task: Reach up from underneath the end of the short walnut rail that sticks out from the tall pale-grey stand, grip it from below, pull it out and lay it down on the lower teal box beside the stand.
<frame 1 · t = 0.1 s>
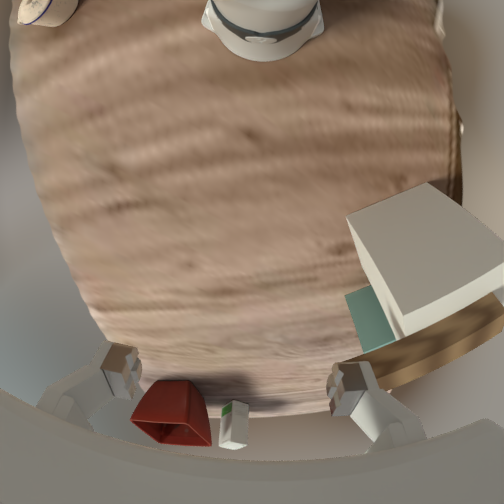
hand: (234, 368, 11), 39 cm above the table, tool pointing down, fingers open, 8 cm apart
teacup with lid: (57, 11, 27), on the table
rail: (423, 337, 29), point 26 cm above the table, touching stand
skincare box: (235, 405, 85), on the table
stand: (394, 225, 49), on the table
teal box: (381, 294, 58), on the table
plant pot: (180, 390, 81), on the table
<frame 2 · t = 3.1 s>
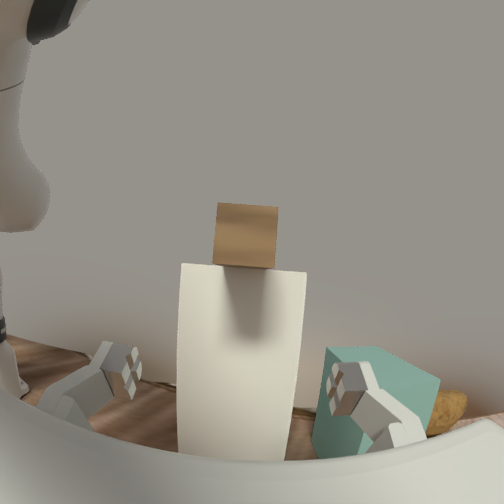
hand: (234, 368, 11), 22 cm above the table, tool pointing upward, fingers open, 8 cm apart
potato: (427, 432, 33), on the table
rail: (244, 268, 29), point 26 cm above the table, touching stand
stand: (232, 445, 34), on the table
teal box: (350, 466, 27), on the table
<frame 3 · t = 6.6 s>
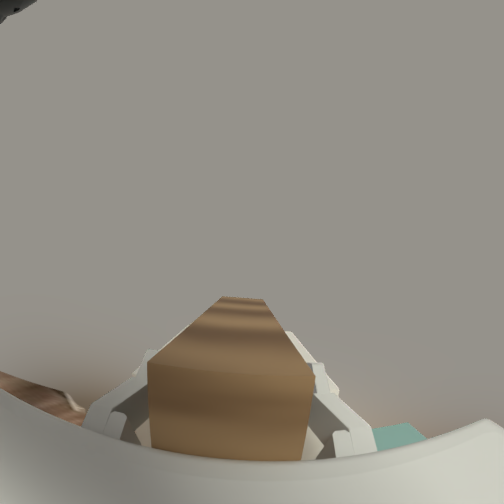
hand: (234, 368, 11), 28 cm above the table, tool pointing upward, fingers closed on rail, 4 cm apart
rail: (235, 373, 17), point 26 cm above the table, touching gripper, stand
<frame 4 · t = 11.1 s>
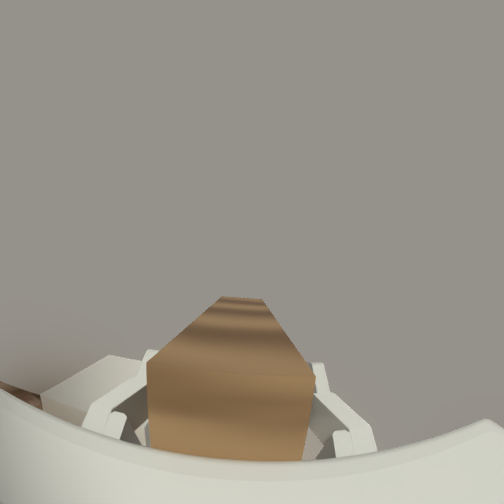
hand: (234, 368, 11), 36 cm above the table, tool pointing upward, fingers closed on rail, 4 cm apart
rail: (235, 373, 17), point 34 cm above the table, touching gripper
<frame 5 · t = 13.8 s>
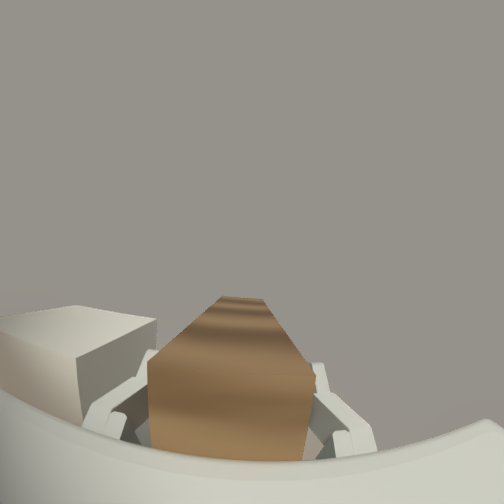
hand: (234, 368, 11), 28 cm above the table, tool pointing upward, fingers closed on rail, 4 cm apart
rail: (235, 372, 17), point 26 cm above the table, touching gripper
stand: (105, 501, 21), on the table
when the fingers open (20 cm above the table, at t = 16.0 s): rail drops 2 cm, resting on teal box.
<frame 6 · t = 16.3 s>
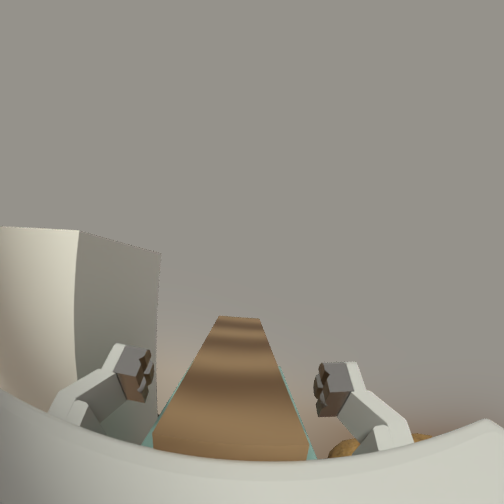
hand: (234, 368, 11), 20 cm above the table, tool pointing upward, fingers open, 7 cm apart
potato: (374, 491, 20), on the table
rail: (233, 400, 16), point 16 cm above the table, touching teal box
stand: (94, 463, 21), on the table
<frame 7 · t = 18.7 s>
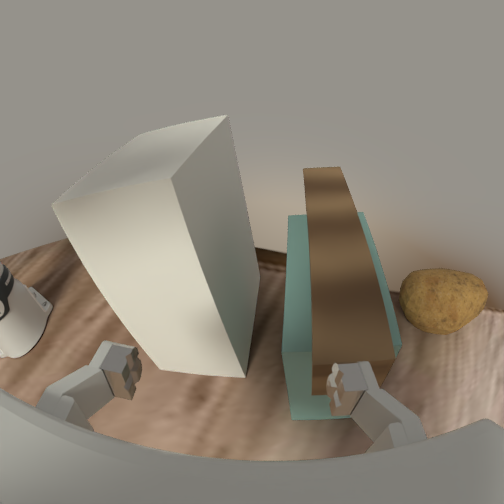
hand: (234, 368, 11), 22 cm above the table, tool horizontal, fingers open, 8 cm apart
potato: (435, 319, 33), on the table
rail: (333, 266, 22), point 16 cm above the table, touching teal box
stand: (213, 320, 40), on the table
teal box: (327, 360, 32), on the table
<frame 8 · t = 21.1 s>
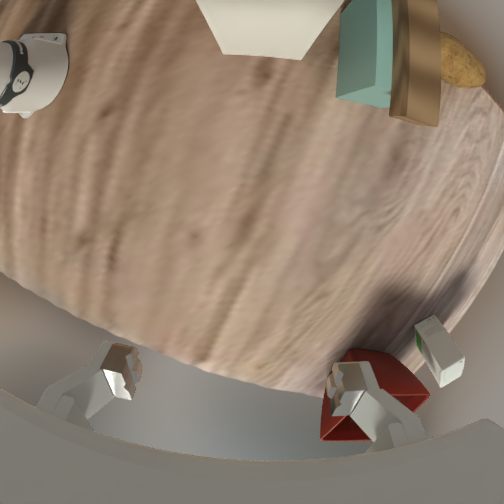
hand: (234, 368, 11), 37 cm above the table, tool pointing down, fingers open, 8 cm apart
potato: (441, 64, 33), on the table
rail: (407, 35, 20), point 16 cm above the table, touching teal box
skincare box: (425, 329, 58), on the table
stand: (266, 10, 31), on the table
teal box: (362, 59, 34), on the table
plant pot: (359, 366, 63), on the table
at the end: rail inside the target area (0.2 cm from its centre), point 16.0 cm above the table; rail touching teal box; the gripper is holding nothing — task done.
